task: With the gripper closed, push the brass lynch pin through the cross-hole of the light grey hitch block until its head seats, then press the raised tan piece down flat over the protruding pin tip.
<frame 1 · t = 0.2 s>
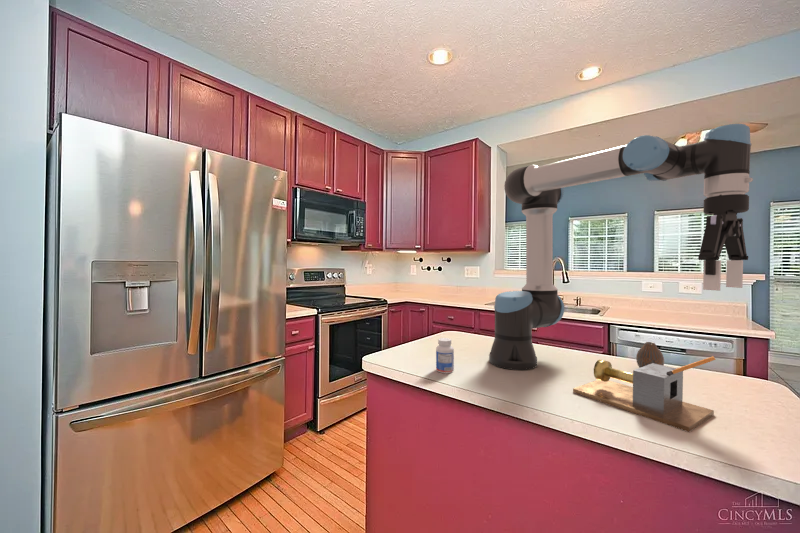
hand: (723, 288, 79), 28 cm above the counter, fingers open, 13 cm apart
hitch block: (637, 402, 82), on the counter
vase: (649, 371, 105), on the counter
lynch pin: (624, 376, 85), point 5 cm above the counter, slide at 8.0 cm
tan piece: (694, 364, 73), point 12 cm above the counter, hinge at 35.0°
pill bottle: (444, 371, 106), on the counter
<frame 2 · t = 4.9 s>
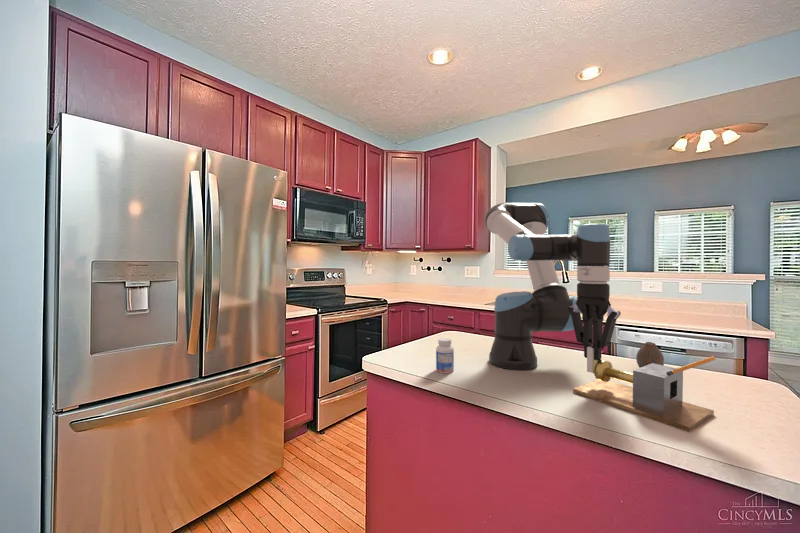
hand: (592, 371, 91), 5 cm above the counter, fingers closed
lynch pin: (624, 376, 84), point 5 cm above the counter, slide at 7.8 cm, touching gripper
everything else where it was.
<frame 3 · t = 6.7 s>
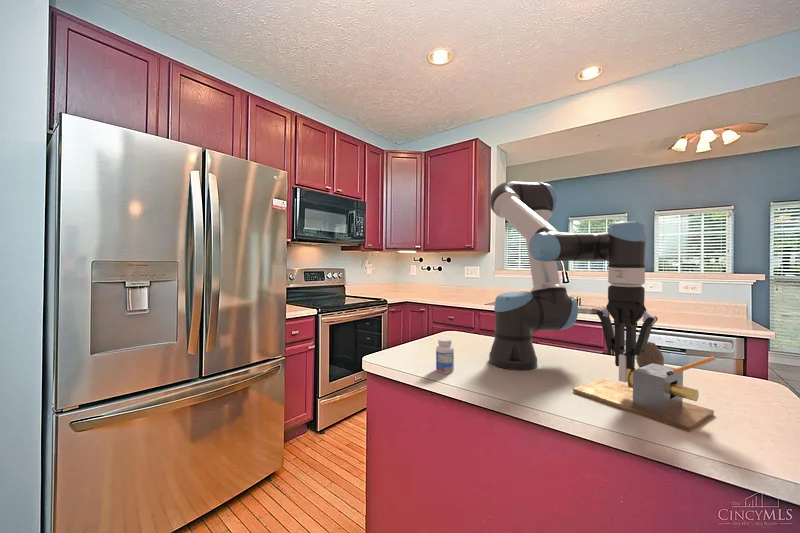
hand: (624, 380, 84), 4 cm above the counter, fingers closed
lynch pin: (662, 386, 78), point 5 cm above the counter, slide at 0.0 cm, touching gripper
everything else where it was.
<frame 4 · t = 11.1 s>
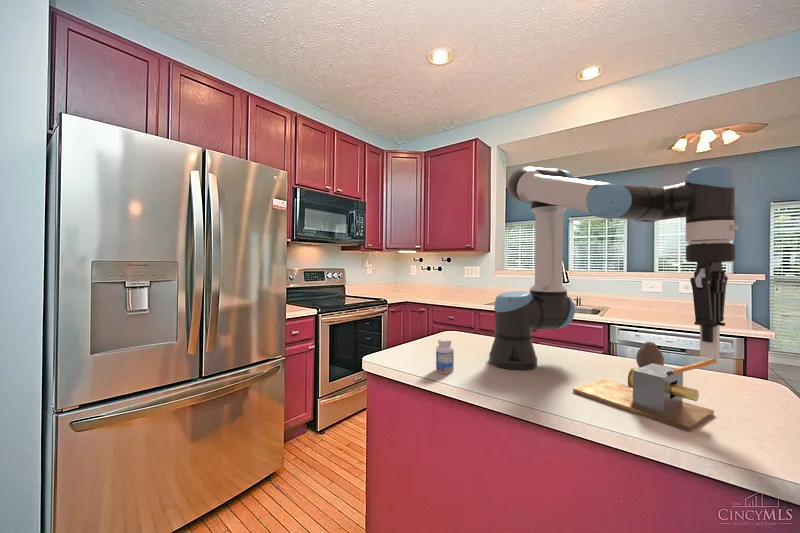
hand: (709, 357, 71), 14 cm above the counter, fingers closed
lynch pin: (662, 386, 78), point 5 cm above the counter, slide at 0.0 cm
tan piece: (695, 365, 73), point 12 cm above the counter, hinge at 31.1°, touching gripper
everything else where it was.
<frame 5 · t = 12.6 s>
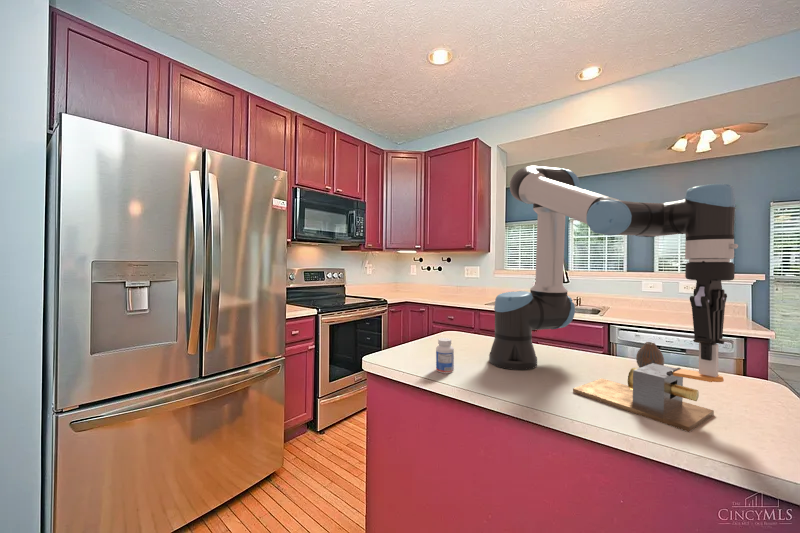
hand: (708, 374, 71), 11 cm above the counter, fingers closed
tan piece: (699, 375, 72), point 10 cm above the counter, hinge at 4.5°, touching gripper
everything else where it was.
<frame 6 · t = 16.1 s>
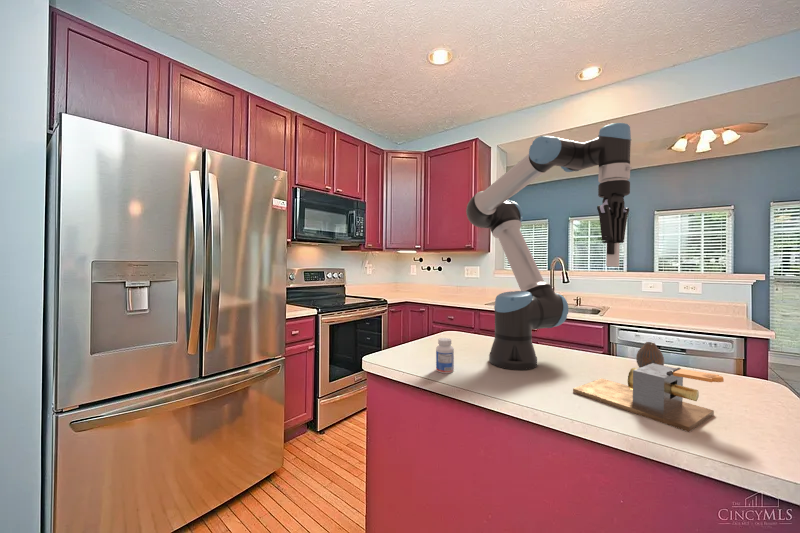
hand: (612, 266, 96), 32 cm above the counter, fingers closed
tan piece: (699, 375, 72), point 10 cm above the counter, hinge at 4.3°
everything else where it was.
at the end: lynch pin slide at 0.0 cm; tan piece at +4° (first picture: +35°) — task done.
